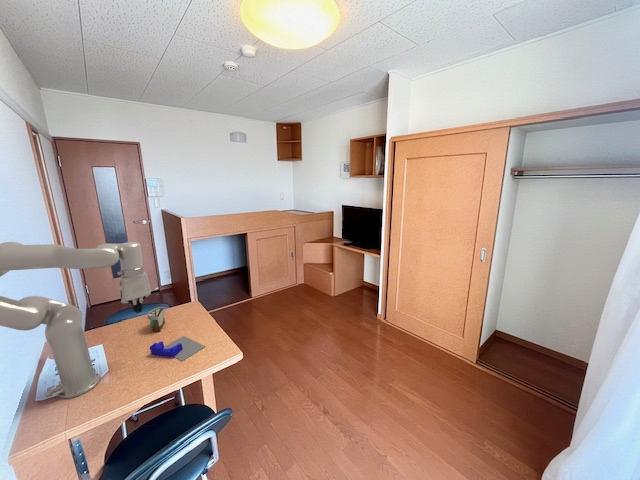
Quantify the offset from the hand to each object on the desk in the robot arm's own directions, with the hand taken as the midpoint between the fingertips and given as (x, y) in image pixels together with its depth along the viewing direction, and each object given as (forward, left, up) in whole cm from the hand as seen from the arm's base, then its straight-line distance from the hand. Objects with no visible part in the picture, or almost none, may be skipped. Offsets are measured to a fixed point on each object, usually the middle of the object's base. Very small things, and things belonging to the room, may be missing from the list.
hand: (138, 311), depth 112 cm
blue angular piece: (+4, -4, -22) cm, 23 cm away
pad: (+13, -6, -24) cm, 28 cm away
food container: (+16, +24, -25) cm, 38 cm away
